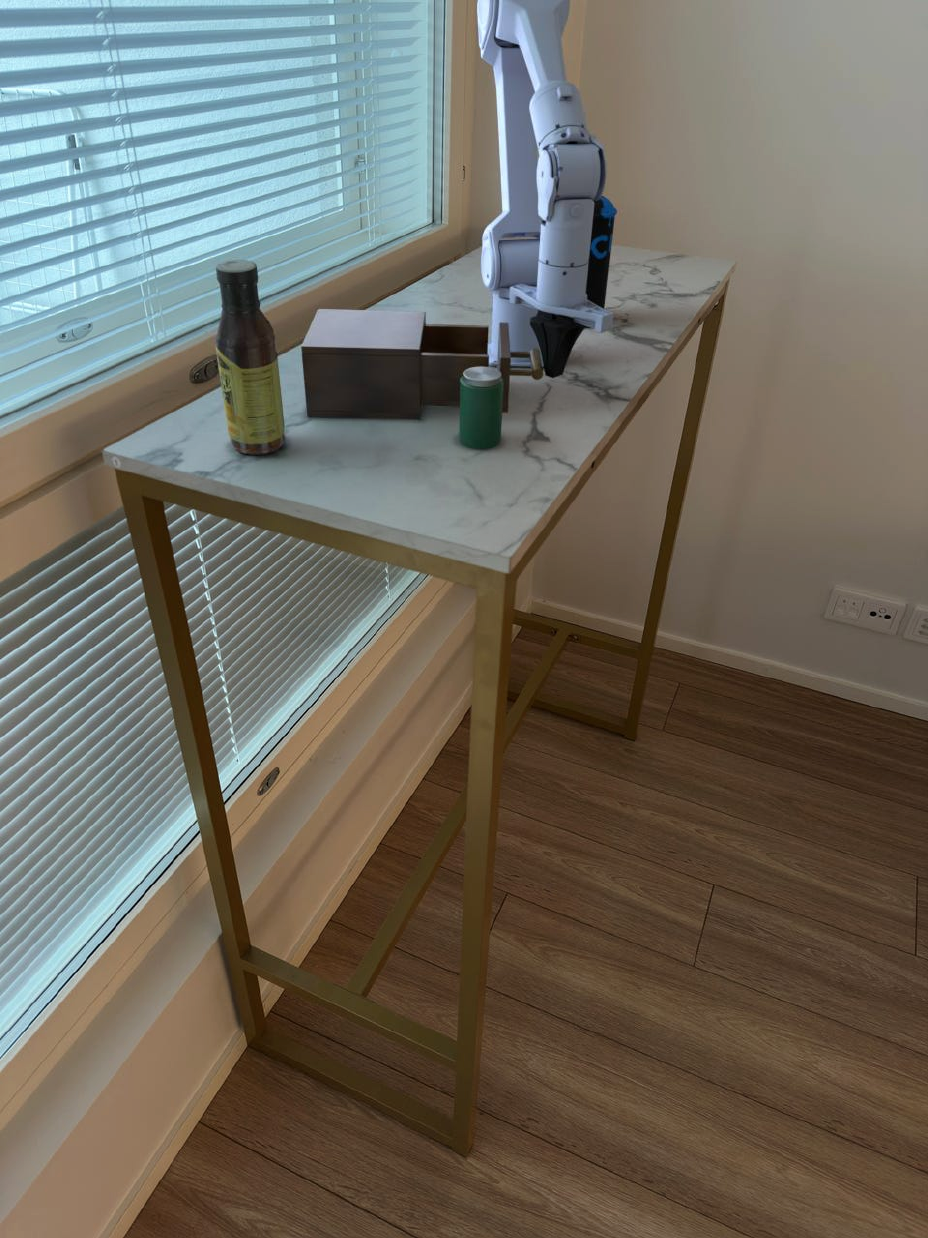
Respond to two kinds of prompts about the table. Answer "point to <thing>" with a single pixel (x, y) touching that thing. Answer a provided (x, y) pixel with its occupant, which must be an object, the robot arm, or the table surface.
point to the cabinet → (363, 364)
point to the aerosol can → (600, 251)
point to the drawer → (465, 361)
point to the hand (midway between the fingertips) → (554, 374)
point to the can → (481, 408)
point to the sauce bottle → (248, 363)
